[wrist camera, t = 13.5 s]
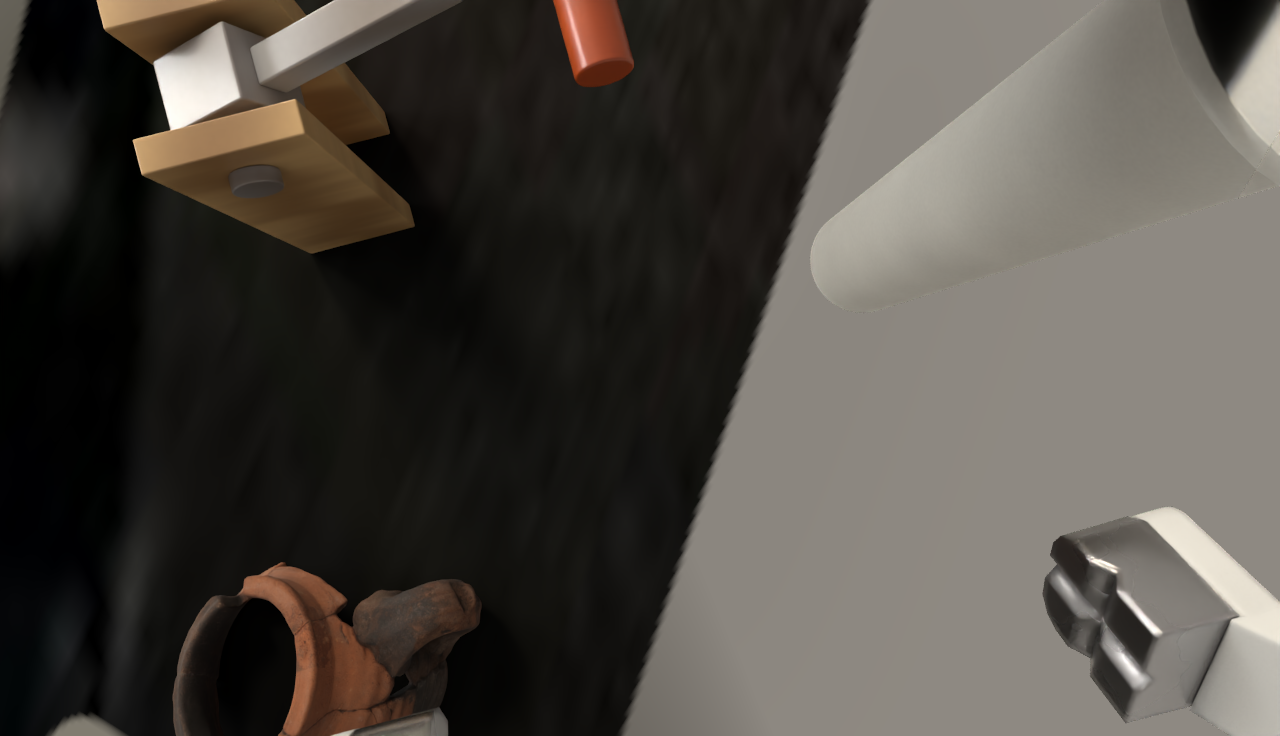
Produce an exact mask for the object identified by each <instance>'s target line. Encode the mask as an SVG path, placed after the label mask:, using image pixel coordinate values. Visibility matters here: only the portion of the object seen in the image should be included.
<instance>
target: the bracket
mask: <svg viewBox="0 0 1280 736" xmlns="http://www.w3.org/2000/svg"><path fill="white" fill-rule="evenodd" d="M97 4H98V8H99V11H100V15H101V19H102V23H103V27H104V29H105V31H107V32H108V33H109V34H111V35H112V36H114V37H115V38H116V39H118V40H119V41H121V42H122V43H123V44H125V45H126V46H128V47H129V48H130V49H132V50H133V51H135V52H136V53H137V54H139V55H140V56H142V57H143V58H144V59H146V60H147V61H149V62H150V63H151V64H153V62H154V61H155V60H156V59H158V58H160V57H162V56H163V55H165V54H167V53H168V52H170V51H172V50H173V49H175V48H177V47H178V46H180V45H182V44H184V43H185V42H187V41H189V40H190V39H192V38H194V37H195V36H197V35H199V34H200V33H202V32H204V31H206V30H207V29H209V28H211V27H212V26H214V25H216V24H217V23H219V22H226V23H228V24H231V25H233V26H236V27H239V28H241V29H244V30H246V31H249V32H252V33H254V34H257V35H259V36H262V37H264V38H268V37H270V36H272V35H273V34H275V33H277V32H279V31H281V30H282V29H284V28H286V27H288V26H289V25H291V24H293V23H295V22H297V21H298V20H300V19H302V18H304V17H305V16H306V15H305V13H304V12H303V11H302V10H301V8H300V7H299V6H298V5H297V3H296V2H295V1H294V0H97ZM153 65H154V64H153ZM300 88H301V92H302V95H303V99H304V103H305V107H306V108H305V107H304V106H303V105H302V104H301V103H300V102H299V101H297V100H296V99H293V100H289V101H285V102H281V103H277V104H273V105H269V106H265V107H261V108H257V109H253V110H249V111H245V112H241V113H237V114H233V115H229V116H225V117H221V118H218V119H214V120H210V121H206V122H202V123H198V124H194V125H190V126H186V127H182V128H178V129H174V130H170V131H166V132H162V133H158V134H154V135H150V136H146V137H142V138H138V139H134V140H133V142H134V146H135V150H136V154H137V158H138V162H139V166H140V169H141V173H142V175H143V176H145V177H147V178H149V179H152V180H154V181H156V182H158V183H160V184H162V185H164V186H167V187H169V188H171V189H173V190H175V191H177V192H180V193H182V194H184V195H186V196H188V197H190V198H193V199H195V200H197V201H199V202H201V203H203V204H205V205H208V206H210V207H212V208H214V209H216V210H218V211H221V212H223V213H225V214H227V215H229V216H231V217H233V218H236V219H238V220H240V221H242V222H244V223H246V224H249V225H251V226H253V227H255V228H257V229H259V230H261V231H264V232H266V233H268V234H270V235H272V236H274V237H276V238H279V239H281V240H283V241H285V242H287V243H289V244H292V245H294V246H296V247H298V248H300V249H302V250H305V251H307V252H309V253H316V252H320V251H324V250H327V249H331V248H335V247H339V246H343V245H346V244H350V243H354V242H358V241H362V240H366V239H369V238H373V237H377V236H381V235H385V234H389V233H392V232H396V231H400V230H404V229H408V228H412V227H414V226H415V224H414V221H413V217H412V213H411V209H410V206H409V204H408V203H407V202H406V201H405V200H404V199H403V198H402V197H401V196H400V195H399V194H397V193H396V192H395V191H394V190H393V189H392V188H391V187H390V186H389V185H388V184H387V183H386V182H385V181H383V180H382V179H381V178H380V177H379V176H378V175H377V174H376V173H375V172H374V171H373V170H372V169H371V168H370V167H368V166H367V165H366V164H365V163H364V162H363V161H362V160H361V159H360V158H359V157H358V156H357V155H356V154H354V153H353V152H352V151H351V150H350V149H349V148H348V147H347V146H346V145H348V144H352V143H356V142H360V141H364V140H368V139H372V138H376V137H379V136H383V135H387V134H390V131H389V127H388V123H387V120H386V116H385V112H384V111H383V110H382V108H381V107H380V106H379V105H378V103H377V102H376V101H375V100H374V99H373V97H372V96H371V95H370V94H369V92H368V91H367V90H366V89H365V87H364V86H363V85H362V84H361V82H360V81H359V80H358V79H357V78H356V76H355V75H354V74H353V73H352V71H351V70H350V69H349V68H348V66H347V65H346V64H345V63H343V64H341V65H339V66H337V67H335V68H333V69H331V70H329V71H327V72H325V73H323V74H322V75H320V76H318V77H316V78H314V79H312V80H310V81H308V82H306V83H304V84H302V85H300Z"/></svg>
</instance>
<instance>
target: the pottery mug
mask: <svg viewBox="0 0 1280 736" xmlns="http://www.w3.org/2000/svg"><path fill="white" fill-rule="evenodd" d="M252 598H261V599H265V600H268V601H270V602H271V603H272V604H274V605H275V606H276V607H277V608H278V609H279V610H280V611H281V613H282V614H283V616H284V617H285V619H286V622H287V623H288V625H289V627H290V629H291V630H292V633H293V634H294V636H295V647H296V655H297V662H296V664H297V668H296V681H295V690H294V696H293V700H292V704H291V708H290V711H289V714H288V716H287V719H286V721H285V724H284V727H283V730H282V732H281V733H280V734H279V735H278V736H332V735H335V734H339V733H343V732H346V731H350V730H353V729H358V728H363V727H367V726H371V725H375V724H378V723H382V722H386V721H390V720H393V719H397V718H401V717H405V716H408V715H412V714H416V713H420V712H423V711H427V710H431V709H435V708H438V707H440V705H441V703H442V700H443V697H444V694H445V691H446V687H447V680H448V668H447V662H446V660H445V659H446V657H447V656H448V654H449V653H450V652H451V650H452V648H453V646H454V644H455V643H456V641H457V640H458V639H459V638H460V637H461V636H463V635H464V634H466V633H468V632H470V631H472V630H473V629H475V628H476V627H477V626H478V625H479V622H480V612H481V607H482V604H481V600H480V598H479V597H478V596H477V595H476V594H475V591H474V589H473V587H472V586H471V585H469V584H465V583H464V582H463V581H460V580H454V579H448V580H438V581H433V582H429V583H426V584H423V585H420V586H418V587H415V588H413V589H410V590H407V591H404V592H402V591H397V590H396V591H386V590H379V591H377V592H375V593H374V594H372V595H371V596H370V597H368V598H367V599H365V600H363V601H361V602H360V603H359V605H358V606H357V607H356V608H355V610H354V614H353V624H354V626H353V627H351V626H349V625H348V624H346V623H344V622H342V621H341V619H340V618H339V617H338V616H337V614H338V613H339V612H341V610H342V609H343V608H344V607H345V606H346V605H347V599H346V598H345V596H344V595H342V594H341V593H339V592H338V591H337V590H336V589H334V588H333V587H332V586H330V585H328V584H327V583H326V582H325V581H323V580H322V579H321V578H320V577H317V576H315V575H312V574H310V573H308V572H305V571H303V570H301V569H299V568H295V567H287V566H286V564H285V563H280V564H278V565H276V566H274V567H272V568H270V569H268V570H267V571H265V572H263V573H262V574H260V575H256V576H249V577H247V578H246V579H245V580H244V587H243V589H242V590H241V591H240V592H239V594H238V595H237V596H230V597H228V596H214V597H212V598H211V599H210V600H209V601H208V602H207V603H206V605H205V606H204V608H203V609H202V610H201V612H200V613H199V615H198V616H197V617H196V620H195V622H194V624H193V625H192V627H191V629H190V630H189V632H188V635H187V637H186V640H185V642H184V644H183V648H182V650H181V654H180V657H179V663H178V667H177V673H178V674H177V677H176V680H175V685H174V693H173V705H174V719H173V720H174V726H175V732H176V736H224V735H223V732H222V729H221V726H220V723H219V701H218V692H217V688H216V680H217V679H218V677H219V668H220V660H221V654H222V650H223V646H224V643H225V639H226V637H227V635H228V632H229V630H230V628H231V626H232V624H233V622H234V620H235V618H236V617H237V615H238V613H239V612H240V611H241V609H242V608H243V607H244V605H245V604H246V603H247V602H248V601H249V600H250V599H252ZM404 673H405V674H406V676H407V678H408V680H409V684H408V685H407V686H406V687H404V688H402V689H401V690H399V691H397V692H396V693H395V694H393V695H390V693H391V691H392V689H393V687H394V679H395V677H396V676H401V675H403V674H404Z"/></svg>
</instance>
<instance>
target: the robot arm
mask: <svg viewBox="0 0 1280 736" xmlns="http://www.w3.org/2000/svg"><path fill="white" fill-rule="evenodd" d="M1050 556H1051V557H1052V558H1053V559H1054V561H1055V562H1056V563H1057V565H1056V566H1055V567H1054V569H1053V570H1052V571H1051V572H1050V573H1049V574H1048V575H1047V576H1046V577H1045V582H1044V589H1043V597H1044V601H1045V605H1046V609H1047V613H1048V615H1049V617H1050V619H1051V621H1052V623H1053V625H1054V627H1055V629H1056V631H1057V632H1058V633H1059V635H1060V636H1061V637H1062V639H1063V640H1064V642H1065V643H1066V644H1067V646H1068V647H1070V648H1072V649H1074V650H1076V651H1078V652H1080V653H1082V654H1083V655H1085V656H1087V657H1089V658H1090V676H1091V678H1092V679H1093V681H1094V682H1095V683H1096V685H1097V686H1098V687H1099V688H1100V690H1101V691H1102V692H1103V694H1104V695H1105V696H1106V698H1107V699H1108V700H1109V702H1110V703H1111V704H1112V705H1113V707H1114V708H1115V710H1116V711H1117V712H1118V714H1119V715H1120V716H1121V718H1122V719H1123V720H1124V722H1125V723H1128V722H1132V721H1136V720H1140V719H1143V718H1147V717H1151V716H1155V715H1159V714H1162V713H1167V712H1170V711H1174V710H1178V709H1182V708H1185V707H1190V706H1191V709H1190V711H1192V712H1193V713H1195V714H1196V715H1198V716H1200V717H1201V718H1203V719H1204V720H1206V721H1207V722H1209V723H1211V724H1212V725H1214V726H1215V727H1217V728H1219V729H1220V730H1222V731H1223V732H1225V733H1226V734H1228V735H1230V736H1280V602H1279V601H1278V600H1277V599H1276V598H1275V597H1274V596H1273V595H1272V594H1271V593H1270V592H1269V591H1268V590H1266V589H1265V588H1264V587H1263V586H1262V585H1261V584H1260V583H1259V582H1258V581H1257V580H1256V579H1255V578H1254V577H1252V575H1250V574H1249V573H1248V572H1247V571H1246V570H1245V569H1244V568H1243V567H1242V566H1241V565H1239V563H1237V561H1235V560H1234V559H1233V558H1232V557H1231V556H1230V555H1229V554H1228V553H1227V552H1226V551H1225V550H1224V549H1223V548H1222V547H1220V546H1219V545H1218V544H1217V543H1216V542H1215V541H1214V540H1213V539H1212V538H1211V537H1210V536H1209V535H1207V533H1205V532H1204V531H1203V530H1202V529H1201V528H1200V527H1199V526H1198V525H1197V524H1196V523H1195V522H1194V521H1192V519H1191V518H1189V517H1188V516H1187V515H1186V514H1185V513H1184V512H1182V511H1180V510H1178V509H1176V508H1174V507H1163V508H1159V509H1155V510H1152V511H1149V512H1145V513H1142V514H1138V515H1135V516H1131V517H1124V518H1121V519H1117V520H1114V521H1110V522H1107V523H1104V524H1100V525H1097V526H1093V527H1090V528H1087V529H1083V530H1080V531H1076V532H1073V533H1070V534H1067V535H1063V536H1060V537H1059V538H1058V539H1057V540H1056V541H1054V542H1053V546H1052V550H1051V554H1050ZM332 736H448V720H447V719H446V717H445V716H444V714H443V713H442V711H441V709H440V708H439V707H438V708H435V709H431V710H427V711H423V712H420V713H416V714H412V715H408V716H405V717H401V718H397V719H393V720H390V721H386V722H382V723H378V724H375V725H371V726H367V727H363V728H358V729H353V730H350V731H346V732H343V733H339V734H335V735H332Z"/></svg>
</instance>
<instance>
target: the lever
mask: <svg viewBox="0 0 1280 736" xmlns="http://www.w3.org/2000/svg"><path fill="white" fill-rule="evenodd" d="M462 1H464V0H334V1H332V2H330V3H329V4H327V5H325V6H323V7H321V8H320V9H318V10H316V11H314V12H313V13H311V14H309V15H307V16H305V17H304V18H302V19H300V20H298V21H297V22H295V23H293V24H291V25H289V26H288V27H286V28H284V29H282V30H281V31H279V32H277V33H275V34H273V35H272V36H270V37H268V38H264V37H262V36H259V35H257V34H254V33H252V32H249V31H246V30H244V29H241V28H239V27H236V26H233V25H231V24H228V23H226V22H219V23H217V24H216V25H214V26H212V27H211V28H209V29H207V30H206V31H204V32H202V33H200V34H199V35H197V36H195V37H194V38H192V39H190V40H189V41H187V42H185V43H184V44H182V45H180V46H178V47H177V48H175V49H173V50H172V51H170V52H168V53H167V54H165V55H163V56H162V57H160V58H158V59H156V60H155V61H154V62H153V64H154V68H155V72H156V76H157V80H158V84H159V87H160V91H161V95H162V99H163V103H164V106H165V110H166V114H167V118H168V122H169V126H170V129H171V130H174V129H178V128H182V127H186V126H190V125H194V124H198V123H202V122H206V121H210V120H214V119H218V118H221V117H225V116H229V115H233V114H237V113H241V112H245V111H249V110H253V109H257V108H261V107H265V106H269V105H273V104H277V103H281V102H285V101H289V100H293V99H296V100H297V101H299V102H300V103H301V104H302V105H303V106H304V107H305V103H304V99H303V95H302V92H301V88H300V85H302V84H304V83H306V82H308V81H310V80H312V79H314V78H316V77H318V76H320V75H322V74H323V73H325V72H327V71H329V70H331V69H333V68H335V67H337V66H339V65H341V64H343V63H345V62H346V61H348V60H350V59H352V58H354V57H356V56H358V55H360V54H362V53H364V52H366V51H368V50H369V49H371V48H373V47H375V46H377V45H379V44H381V43H383V42H385V41H387V40H389V39H391V38H393V37H394V36H396V35H398V34H400V33H402V32H404V31H406V30H408V29H410V28H412V27H414V26H416V25H417V24H419V23H421V22H423V21H425V20H427V19H429V18H431V17H433V16H435V15H437V14H439V13H441V12H442V11H444V10H446V9H448V8H450V7H452V6H454V5H456V4H458V3H460V2H462ZM553 1H554V5H555V8H556V12H557V16H558V19H559V23H560V27H561V30H562V34H563V38H564V41H565V45H566V49H567V52H568V56H569V59H570V63H571V67H572V70H573V74H574V78H575V81H576V82H577V83H578V84H579V85H581V86H584V87H598V86H603V85H607V84H611V83H613V82H616V81H618V80H620V79H622V78H624V77H625V76H627V75H628V74H629V73H630V72H631V71H632V69H633V67H634V61H633V57H632V54H631V50H630V47H629V43H628V39H627V36H626V32H625V28H624V25H623V21H622V17H621V14H620V10H619V7H618V3H617V0H553ZM305 108H306V107H305Z"/></svg>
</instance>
